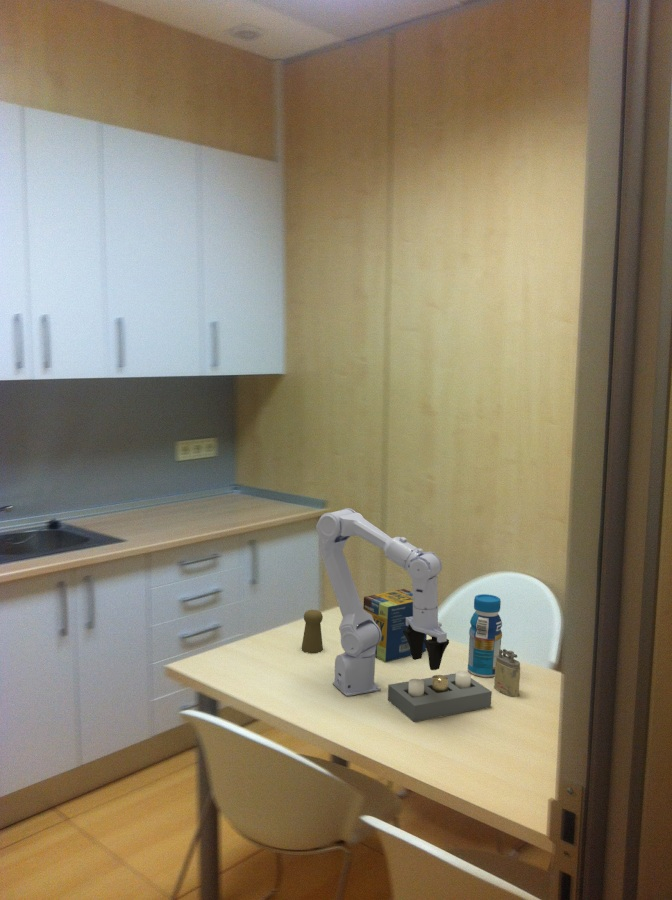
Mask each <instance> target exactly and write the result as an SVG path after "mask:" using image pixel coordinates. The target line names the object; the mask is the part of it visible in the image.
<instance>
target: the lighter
mask: <svg viewBox="0 0 672 900" xmlns="http://www.w3.org/2000/svg"><path fill="white" fill-rule="evenodd" d="M515 658H518V655H517V654H515V651H514V650H507V649H506V648H503V649H499V655H497V657H496V665H495V676H494V685H493V688H494V689H496V690H497V691H498V692H499V693H502V694H504V695H507V696H509V697H517V696H519V695H520V679H521V677H520V676H521V662H520V661H519V660H516V659H515Z"/></svg>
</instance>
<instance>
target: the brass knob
mask: <svg viewBox="0 0 672 900" xmlns="http://www.w3.org/2000/svg"><path fill="white" fill-rule="evenodd" d="M444 675H445V674H444ZM444 675H443V674H435V675H433V676H432V677H433V680H432V690H433V691H435V692H436V693H441V692H447V689H448V677H446V676H444Z"/></svg>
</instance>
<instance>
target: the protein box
mask: <svg viewBox="0 0 672 900" xmlns="http://www.w3.org/2000/svg"><path fill="white" fill-rule="evenodd" d="M362 606H363V609H364V610H365V611H366V612H368V613H369V614H371V615H372V617H373V620H374V622H375V623H376V624H377V625H378V626H379V628H380V630H381V640H380V642H379V643H378V644H377V645H376V650H375V659H378V660H380V661H382V662H384V663H387V662H390V661H391V662H392V661H395V660H399V659H402V658H407V657H412V655H411V651H410V647H409V643H408V641H407V638H406V636H405V635H404V633H403V630H404V629H408V627H409V626H406V617H412V616H413V591H410V590H408V589H405V588H402V589H398V590H392V591H391V590H390V591H387V592H382V593H378V594H377V593H376V594H372V595H367V596H364V597H363V605H362ZM427 636H428V635H427V634H425V637H424V640H428V639H427ZM425 652H427V648H426V646H425V643H424V641H423V652H422V653H425Z"/></svg>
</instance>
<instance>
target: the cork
mask: <svg viewBox="0 0 672 900" xmlns="http://www.w3.org/2000/svg"><path fill="white" fill-rule="evenodd" d="M303 620H304V623H305V625H304V630H303V637H302V642H301V643H302V644H301V649H302V650H301V651H302V652H303V651H304V653H306V652H308V653H307V654H319V653H318V652H320V653H322V652H323V651H324V646H323V638H322V637H323V636H322V635H323V634H322V627H321V622H322V621H323V614H322V612H321V611H320V610H317V609H309V610H308V609H307V610H306V611H305V612H304V614H303ZM322 650H323V651H322ZM321 651H322V652H321Z"/></svg>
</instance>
